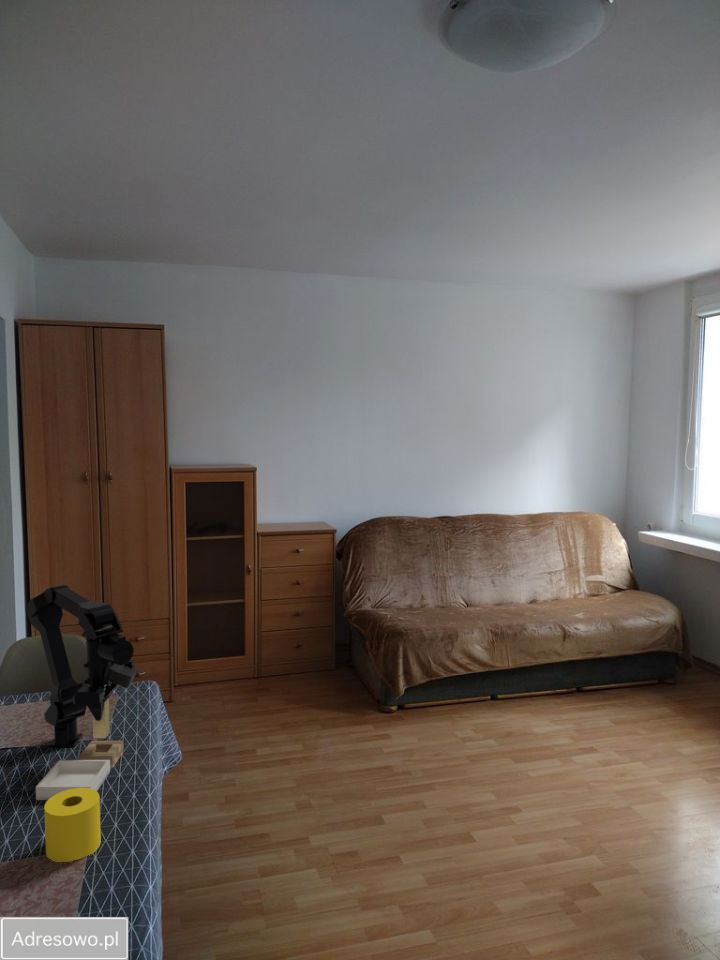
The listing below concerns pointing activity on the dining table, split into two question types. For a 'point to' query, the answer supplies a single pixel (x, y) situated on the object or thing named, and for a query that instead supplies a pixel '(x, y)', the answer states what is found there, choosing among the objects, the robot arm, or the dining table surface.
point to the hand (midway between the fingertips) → (101, 717)
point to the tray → (72, 777)
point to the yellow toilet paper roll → (72, 824)
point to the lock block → (103, 751)
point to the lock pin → (102, 722)
